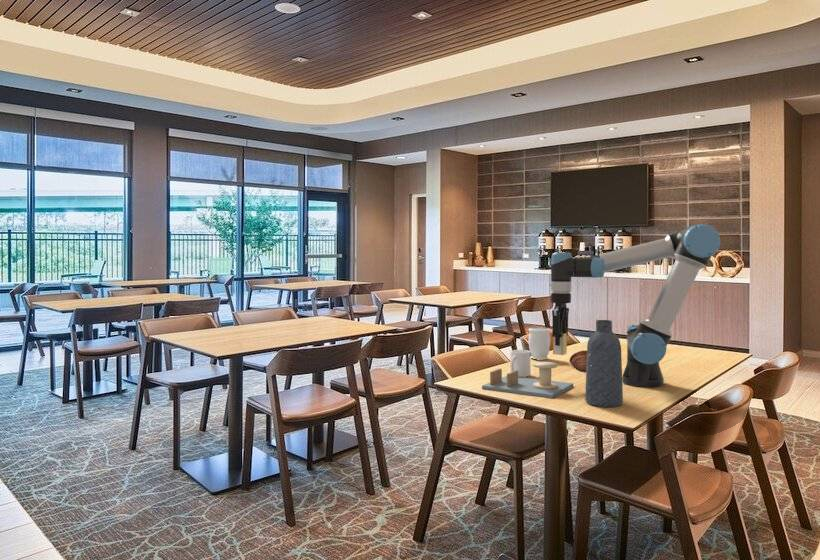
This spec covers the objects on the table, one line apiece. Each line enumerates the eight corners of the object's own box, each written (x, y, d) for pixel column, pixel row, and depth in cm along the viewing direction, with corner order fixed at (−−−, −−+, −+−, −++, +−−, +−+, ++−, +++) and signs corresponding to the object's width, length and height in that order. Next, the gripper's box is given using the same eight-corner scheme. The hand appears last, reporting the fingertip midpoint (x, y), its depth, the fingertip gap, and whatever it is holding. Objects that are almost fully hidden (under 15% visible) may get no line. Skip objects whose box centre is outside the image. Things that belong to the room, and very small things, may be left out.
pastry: (612, 370, 255) (612, 352, 255) (583, 372, 250) (583, 354, 250) (588, 363, 271) (588, 346, 271) (560, 366, 266) (560, 349, 265)
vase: (608, 409, 189) (608, 323, 188) (577, 402, 198) (577, 320, 197) (630, 403, 196) (630, 320, 195) (599, 397, 206) (599, 318, 205)
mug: (520, 379, 236) (519, 354, 236) (502, 377, 241) (502, 352, 241) (533, 375, 245) (533, 350, 245) (516, 372, 251) (516, 349, 250)
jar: (524, 358, 287) (524, 328, 286) (543, 356, 290) (543, 327, 289) (535, 361, 277) (535, 330, 276) (554, 360, 280) (554, 329, 279)
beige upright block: (566, 353, 223) (566, 333, 223) (563, 355, 220) (563, 334, 220) (556, 352, 226) (556, 332, 225) (552, 354, 222) (553, 333, 222)
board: (573, 386, 223) (573, 361, 223) (552, 398, 205) (552, 370, 204) (506, 378, 239) (506, 354, 238) (482, 388, 221) (481, 363, 220)
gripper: (558, 291, 231) (557, 349, 232) (543, 293, 217) (543, 355, 218) (577, 291, 227) (576, 350, 228) (563, 294, 213) (562, 357, 214)
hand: (560, 352), depth 223 cm, fingers closed on beige upright block, 4 cm apart
